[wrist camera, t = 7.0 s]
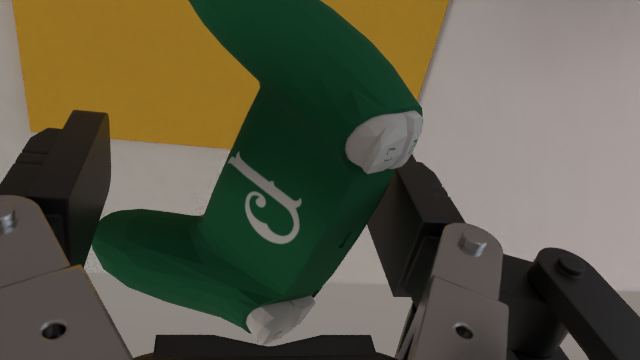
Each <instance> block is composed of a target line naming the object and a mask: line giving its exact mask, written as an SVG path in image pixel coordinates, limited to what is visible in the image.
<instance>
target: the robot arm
mask: <svg viewBox="0 0 640 360" xmlns="http://www.w3.org/2000/svg"><path fill="white" fill-rule="evenodd" d="M110 180H111V152H110V123H109V116H108V113H104V112H94V111H84V110H73V111H72V113H71V114H70V116H69V118H68V120H67V122H66V123H65V125H64V127H63V129H58V128H46V129H44V130H43V131H41V132H39V133H38V134H36V135H34V136H33V137H31V138H30V139H29V141H28V142H27V144H26V146H25V147H24V149H23V150H22V153H20V155H19V156H18V158H17V159H16V163H15V164H13V165H12V167H11V169H10V170H9V172H8V173H7V175H6V176H5V178H4V179H3V181H2V182H1V184H0V360H569V359H568V357H567V356H566V355H565V353H564V352H563V350H562V349H561V348H560V346H559V345H560V344H561V342H562V341H563V340H564V338H565V337H566V335H567V334H568V332H569V333H570V334H571V335H572V337H573V338H574V339H575V341H576V342H577V343H578V345H579V346H580V347H581V348H582V350H583V351H584V352H585V354H586V355H587V357H588V359H589V360H640V317H639V316H638V315H637V314H636V313H635V312H634V311H633V310H632V309H631V307H630V306H629V305H628V304H626V302H625V301H624V300H623V299H622V298H621V297H620V296H619V295H618V293H617V292H616V291H615V290H614V289H613V288H612V287H611V286H610V285H609V284H608V283H607V282H606V281H605V280H604V278H603V277H602V276H601V275H600V274H599V273H598V272H597V271H596V270H595V269H594V268H593V267H592V266H591V265H590V264H589V263H588V262H586V261H585V260H584V259H582V258H581V257H579V256H577V255H575V254H573V253H571V252H569V251H566V250H563V249H559V248H544V249H542V250H541V251H540V252H539V253H538V255H537V257H536V258H535V260H534V262H530V261H527V260H523V259H519V258H516V257H512V256H508V255H505V254H503V249H502V246H501V245H500V243H499V242H498V241H497V239H496V238H495V237H494V236H492V235H491V234H490V233H488V232H487V231H485V230H483V229H481V228H479V227H477V226H474V225H471V224H467V223H466V222H465V221H464V219H463V218H462V216H461V214H460V213H459V211H458V210H457V208H456V207H455V205H454V203H453V202H452V200H451V199H450V197H448V194H447V192H446V191H445V189H444V187H442V184H441V183H440V181H439V179H438V178H437V176H436V175H435V173H434V172H432V171H431V170H430V169H429V168H428V167H426V166H425V165H424V164H423V163H421V162H416V160H415V158H414V157H413V155H412V154H411V156H410V157H409V159H408V161H407V162H406V163H405V164H404V165H403V166H401V167H398V168H395V171H394V173H393V175H392V178H391V181H390V183H389V185H388V187H387V189H386V192H385V194H384V196H383V198H382V199H381V201H380V203H379V204H378V206H377V208H376V209H375V211H374V213H373V214H372V216H371V218H370V219H369V221H368V223H367V226H368V229H369V231H370V234H371V237H372V239H373V242H374V245H375V248H376V250H377V253H378V256H379V259H380V261H381V264H382V267H383V269H384V272H385V275H386V278H387V280H388V283H389V286H390V288H391V291H392V294H393V296H394V297H411V298H412V301H413V303H412V306H411V308H410V310H409V313H408V315H407V319H406V322H405V325H404V329H403V332H402V335H401V338H400V341H399V345H398V348H397V351H396V355H395V358H393V357H391V356H388V355H384V354H382V353H378V352H376V351H375V348H374V345H373V341H372V338H371V335H320V336H316V337H312V338H307V339H303V340H299V341H295V342H290V343H286V344H282V345H277V346H270V347H267V346H262V345H257V344H253V343H248V342H243V341H238V340H234V339H229V338H225V337H219V336H216V335H156V339H155V347H154V352H153V353H149V354H145V355H141V356H138V357H135V358H133V357H132V355H131V353H130V352H129V350H128V348H127V346H126V344H125V343H124V341H123V339H122V337H121V335H120V333H119V332H118V330H117V328H116V326H115V324H114V323H113V321H112V319H111V317H110V315H109V313H108V311H107V310H106V308H105V306H104V304H103V303H102V301H101V299H100V297H99V295H98V293H97V291H96V290H95V288H94V286H93V284H92V282H91V281H90V279H89V277H88V275H87V273H86V271H85V270H84V265H85V262H86V259H87V256H88V253H89V250H90V247H91V244H92V241H93V238H94V235H95V232H96V229H97V226H98V223H99V219H100V216H101V213H102V210H103V207H104V204H105V201H106V198H107V195H108V192H109V187H110Z"/></svg>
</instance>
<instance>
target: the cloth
mask: <svg viewBox="0 0 640 360" xmlns="http://www.w3.org/2000/svg"><path fill="white" fill-rule="evenodd" d="M320 1H322V2H323V3H325V4H326V5H328V6H329V7H331V8H332V9H334V10H335V11H336V12H337V13H338V14H339V15H341V16H342V17H343V18H344V19H345V20H346V21H348V22H349V23H350V24H351V25H352V26H354V27H355V28H356V29H357V30H358V31H359V32H361V33H362V34H363V35H364V36H365V37H366V38H368V39H369V40H370V41H371V42H372V43H373V44H374V45H375V46H376V47H377V49H378V50H379V51H380V52H381V53H382V54H383V55H384V56H385V58H386V59H387V60H388V61H389V62H390V63H391V64H392V65H393V66H394V68H395V69H396V71H397V72H398V74H399V75H400V77H401V78H402V80H403V81H404V83H405V84H406V86H407V87H408V89H409V90H410V92H411V93H412V94H413V96H414V97H415V99H416V100H418V96H419V93H420V90H421V87H422V84H423V81H424V78H425V75H426V71H427V68H428V65H429V62H430V59H431V56H432V53H433V50H434V47H435V43H436V40H437V37H438V34H439V31H440V28H441V25H442V22H443V19H444V15H445V12H446V9H447V6H448V3H449V0H320ZM12 2H13V9H14V16H15V23H16V30H17V37H18V44H19V51H20V59H21V66H22V73H23V80H24V87H25V94H26V101H27V108H28V115H29V122H30V130H31V132H38V133H39V132H41V131H43V130H44V129H46V128H58V129H63V127H64V125H65V123H66V122H67V120H68V118H69V116H70V114H71V113H72V111H73V110H84V111H94V112H104V113H108V116H109V123H110V139H120V140H132V141H144V142H155V143H167V144H179V145H191V146H202V147H214V148H226V149H232V147H233V145H234V142H235V140H236V138H237V136H238V133H239V131H240V129H241V126H242V124H243V122H244V120H245V118H246V116H247V113H248V111H249V109H250V107H251V105H252V103H253V101H254V99H255V97H256V95H257V93H258V91H259V89H260V84H259V81H258V80H257V79H256V78H255V77H254V76H253V75H252V74H251V73H250V72H249V71H248V70H247V69H246V68H245V67H244V66H243V65H242V64H240V63H239V62H238V61H237V60H236V59H235V58H234V57H233V56H232V55H231V54H230V53H229V52H228V51H227V50H226V49H225V48H224V47H223V46H222V45H221V44H220V42H219V41H218V40H217V39H216V38H215V37H214V35H213V34H212V33H211V32H210V31H209V30H208V28H207V27H206V26H205V25H204V24H203V22H202V21H201V19H200V18H199V17H198V15H197V13H196V12H195V10H194V9H193V7H192V5H191V4H190V2H189V1H188V0H12Z"/></svg>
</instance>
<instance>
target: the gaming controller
mask: <svg viewBox="0 0 640 360" xmlns="http://www.w3.org/2000/svg"><path fill="white" fill-rule="evenodd" d="M188 1H189V2H190V4H191V5H192V7H193V9H194V10H195V12H196V13H197V15H198V17H199V18H200V19H201V21H202V22H203V24H204V25H205V26H206V27H207V28H208V30H209V31H210V32H211V33H212V34H213V35H214V37H215V38H216V39H217V40H218V41H219V42H220V44H221V45H222V46H223V47H224V48H225V49H226V50H227V51H228V52H229V53H230V54H231V55H232V56H233V57H234V58H235V59H236V60H237V61H238V62H239V63H240V64H242V65H243V66H244V67H245V68H246V69H247V70H248V71H249V72H250V73H251V74H252V75H253V76H254V77H255V78H256V79H257V80H258V81H259V84H260V89H259V91H258V93H257V95H256V97H255V99H254V101H253V103H252V105H251V107H250V109H249V111H248V113H247V116H246V118H245V120H244V122H243V124H242V126H241V129H240V131H239V133H238V136H237V138H236V140H235V142H234V145H233V147H232V149H231V151H230V154H229V156H228V158H227V161H226V163H225V165H224V167H223V170H222V172H221V174H220V176H219V179H218V181H217V183H216V186H215V188H214V190H213V193H212V196H211V198H210V201H209V203H208V206H207V209H206V211H205V213H204V214H203V215H201V216H191V215H184V214H177V213H171V212H162V211H154V210H146V209H135V210H121V211H117V212H113V213H110V214H109V215H107V216H105V217H103V218H102V219H101V220H100V221H99V223H98V226H97V229H96V232H95V235H94V238H93V241H92V248H93V250H94V252H95V254H96V256H97V258H98V260H99V261H100V263H101V265H102V267H103V269H104V270H106V271H107V272H108V273H110V274H111V275H113V276H114V277H115V278H117V279H118V280H119V281H121V282H122V283H123V284H125V285H126V286H128V287H129V288H132V289H135V290H138V291H140V292H142V293H145V294H148V295H150V296H153V297H155V298H158V299H161V300H163V301H166V302H169V303H172V304H176V305H179V306H183V307H187V308H190V309H194V310H197V311H200V312H204V313H207V314H211V315H214V316H218V317H221V318H223V319H225V320H227V321H229V322H231V323H233V324H235V325H237V326H239V327H241V328H243V329H244V330H245V331H247V332H248V333H251V334H253V335H254V336H255V338H256V339H257V345H262V346H264V345H265V344H267V343H270V342H272V341H274V340H277V339H279V338H281V337H282V336H284V335H285V334H287V333H288V332H289V331H291V330H292V329H293V328H294V327H296V326H297V325H298V324H299V323H300V322H301V321H302V320H303V318H304V317H305V316H306V315H307V313H308V312H309V311H310V309H311V308H312V307H313V306H314V304H315V301H314V299H313V298H314V297H315V296H316V294H317V293H318V292H319V291H320V290H321V288H322V286H323V285H324V284H325V283H326V281H327V280H328V279H329V278H330V277H331V276H332V274H333V273H334V272H335V270H336V269H337V267H338V266H339V265H340V263H341V262H342V260H343V259H344V257H345V256H346V255H347V253H348V252H349V250H350V249H351V247H352V246H353V244H354V243H355V242H356V240H357V239H358V237H359V236H360V234H361V233H362V231H363V229H364V228H365V226H366V224H367V223H368V221H369V219H370V218H371V216H372V214H373V213H374V211H375V209H376V208H377V206H378V204H379V203H380V201H381V199H382V198H383V196H384V194H385V192H386V189H387V187H388V185H389V183H390V181H391V178H392V175H393V173H394V171H395V168H398V167H401V166H403V165H404V164H405V163H406V162H407V161H408V159H409V157H410V156H411V154H412V152H413V150H414V148H415V145H416V143H417V140H418V138H419V135H420V133H421V129H422V124H423V119H422V108H421V106H420V105H419V103H418V102H417V100H416V99H415V97H414V96H413V94H412V93H411V92H410V90H409V89H408V87H407V86H406V84H405V83H404V81H403V80H402V78H401V77H400V75H399V74H398V72H397V71H396V69H395V68H394V66H393V65H392V64H391V63H390V62H389V61H388V60H387V59H386V58H385V56H384V55H383V54H382V53H381V52H380V51H379V50H378V49H377V47H376V46H375V45H374V44H373V43H372V42H371V41H370V40H369V39H368V38H366V37H365V36H364V35H363V34H362V33H361V32H359V31H358V30H357V29H356V28H355V27H354V26H352V25H351V24H350V23H349V22H348V21H346V20H345V19H344V18H343V17H342V16H341V15H339V14H338V13H337V12H336V11H335V10H334V9H332V8H331V7H329V6H328V5H326V4H325V3H323V2H322V1H320V0H188Z"/></svg>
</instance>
